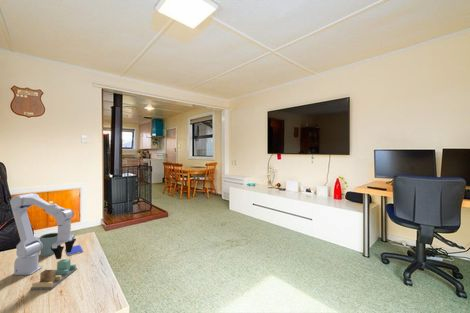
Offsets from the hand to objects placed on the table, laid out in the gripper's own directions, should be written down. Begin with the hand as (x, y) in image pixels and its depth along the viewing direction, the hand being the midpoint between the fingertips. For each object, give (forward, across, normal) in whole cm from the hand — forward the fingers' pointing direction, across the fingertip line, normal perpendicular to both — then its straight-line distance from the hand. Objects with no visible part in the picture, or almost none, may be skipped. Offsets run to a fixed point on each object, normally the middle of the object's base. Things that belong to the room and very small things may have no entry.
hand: (63, 255), depth 117 cm
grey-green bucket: (+10, +24, +26) cm, 37 cm away
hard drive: (+11, +28, +12) cm, 32 cm away
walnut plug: (+9, -11, 0) cm, 14 cm away
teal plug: (+9, 0, 0) cm, 9 cm away
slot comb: (+10, -6, 0) cm, 11 cm away
